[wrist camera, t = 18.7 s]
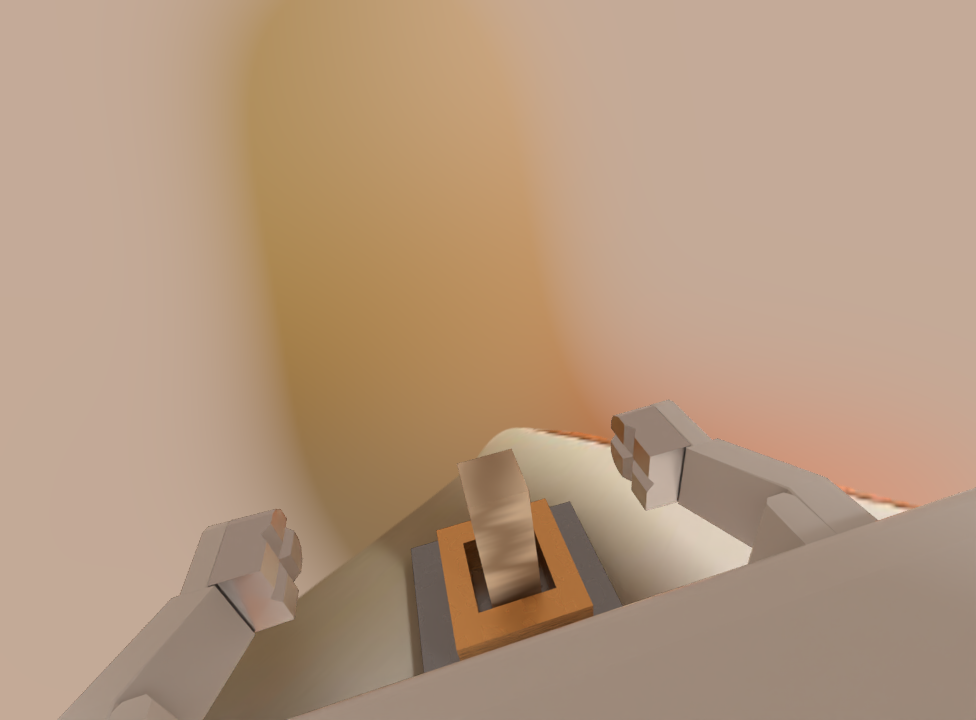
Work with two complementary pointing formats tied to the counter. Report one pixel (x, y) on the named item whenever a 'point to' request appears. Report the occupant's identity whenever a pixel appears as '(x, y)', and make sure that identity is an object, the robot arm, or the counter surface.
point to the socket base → (480, 628)
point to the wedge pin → (502, 526)
